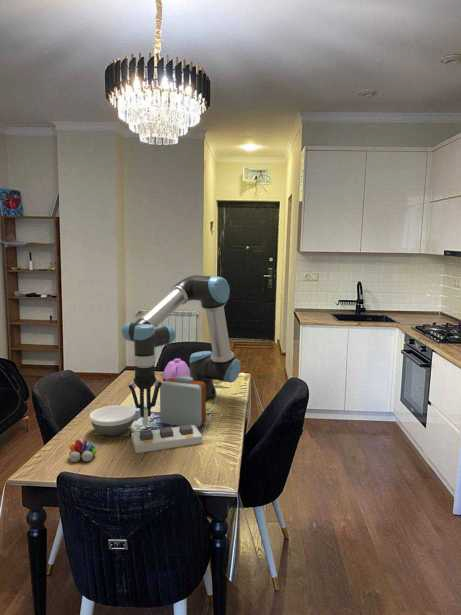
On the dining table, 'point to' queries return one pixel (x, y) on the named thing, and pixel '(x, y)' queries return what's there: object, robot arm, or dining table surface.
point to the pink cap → (176, 369)
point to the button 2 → (186, 429)
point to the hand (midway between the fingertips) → (145, 424)
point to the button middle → (166, 432)
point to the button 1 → (146, 435)
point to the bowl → (112, 419)
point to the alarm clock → (183, 401)
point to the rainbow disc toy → (82, 451)
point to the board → (166, 440)
